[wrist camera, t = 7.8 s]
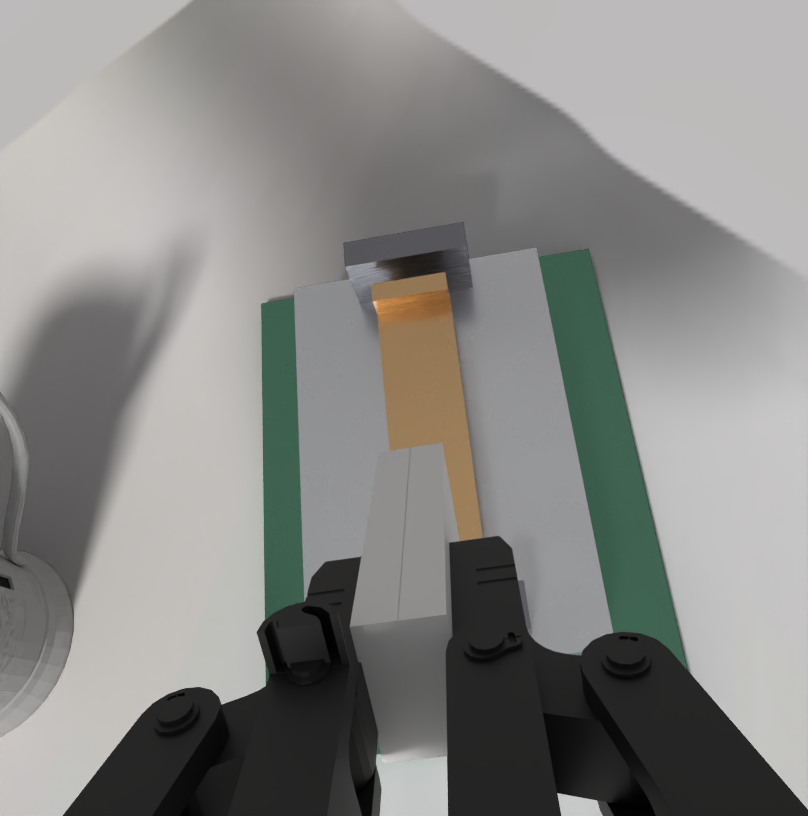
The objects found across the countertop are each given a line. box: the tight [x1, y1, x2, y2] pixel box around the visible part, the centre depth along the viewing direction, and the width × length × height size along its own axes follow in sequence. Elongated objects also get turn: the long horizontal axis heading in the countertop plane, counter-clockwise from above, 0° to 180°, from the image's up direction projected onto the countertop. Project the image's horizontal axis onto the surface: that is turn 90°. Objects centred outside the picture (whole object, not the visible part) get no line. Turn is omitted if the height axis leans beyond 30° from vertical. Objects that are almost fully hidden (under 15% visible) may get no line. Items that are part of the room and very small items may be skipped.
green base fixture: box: [261, 222, 687, 754], centre depth 31 cm, size 22×17×8 cm
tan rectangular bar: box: [371, 272, 483, 541], centre depth 29 cm, size 14×3×2 cm, turn 5°
